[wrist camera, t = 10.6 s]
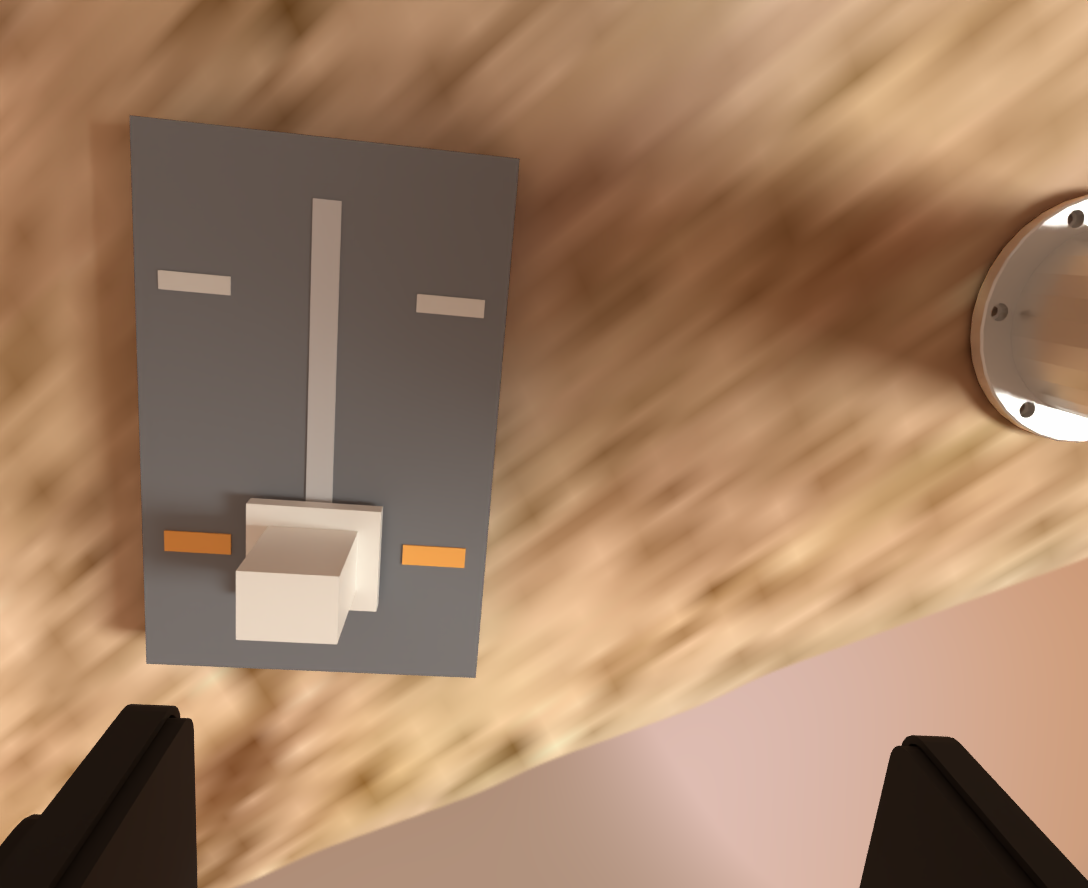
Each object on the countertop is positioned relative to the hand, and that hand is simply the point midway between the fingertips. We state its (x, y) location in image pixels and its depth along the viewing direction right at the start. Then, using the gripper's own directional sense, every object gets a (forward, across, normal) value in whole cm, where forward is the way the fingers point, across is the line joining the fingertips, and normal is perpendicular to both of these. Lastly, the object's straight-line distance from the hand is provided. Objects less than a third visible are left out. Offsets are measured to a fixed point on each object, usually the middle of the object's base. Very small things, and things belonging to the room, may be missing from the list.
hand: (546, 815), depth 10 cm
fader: (+26, +8, +8) cm, 29 cm away
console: (+30, +8, +2) cm, 31 cm away
